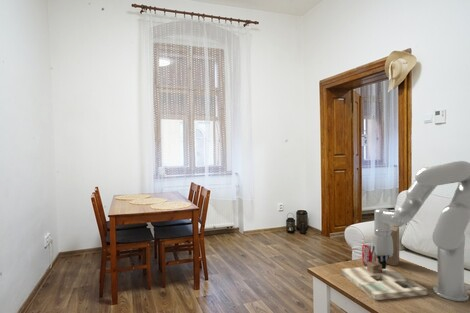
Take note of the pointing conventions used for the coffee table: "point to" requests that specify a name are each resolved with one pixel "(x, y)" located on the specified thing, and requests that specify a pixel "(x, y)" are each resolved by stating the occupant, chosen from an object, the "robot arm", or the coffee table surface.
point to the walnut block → (374, 267)
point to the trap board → (383, 283)
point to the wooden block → (394, 247)
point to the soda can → (367, 253)
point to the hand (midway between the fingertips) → (382, 267)
